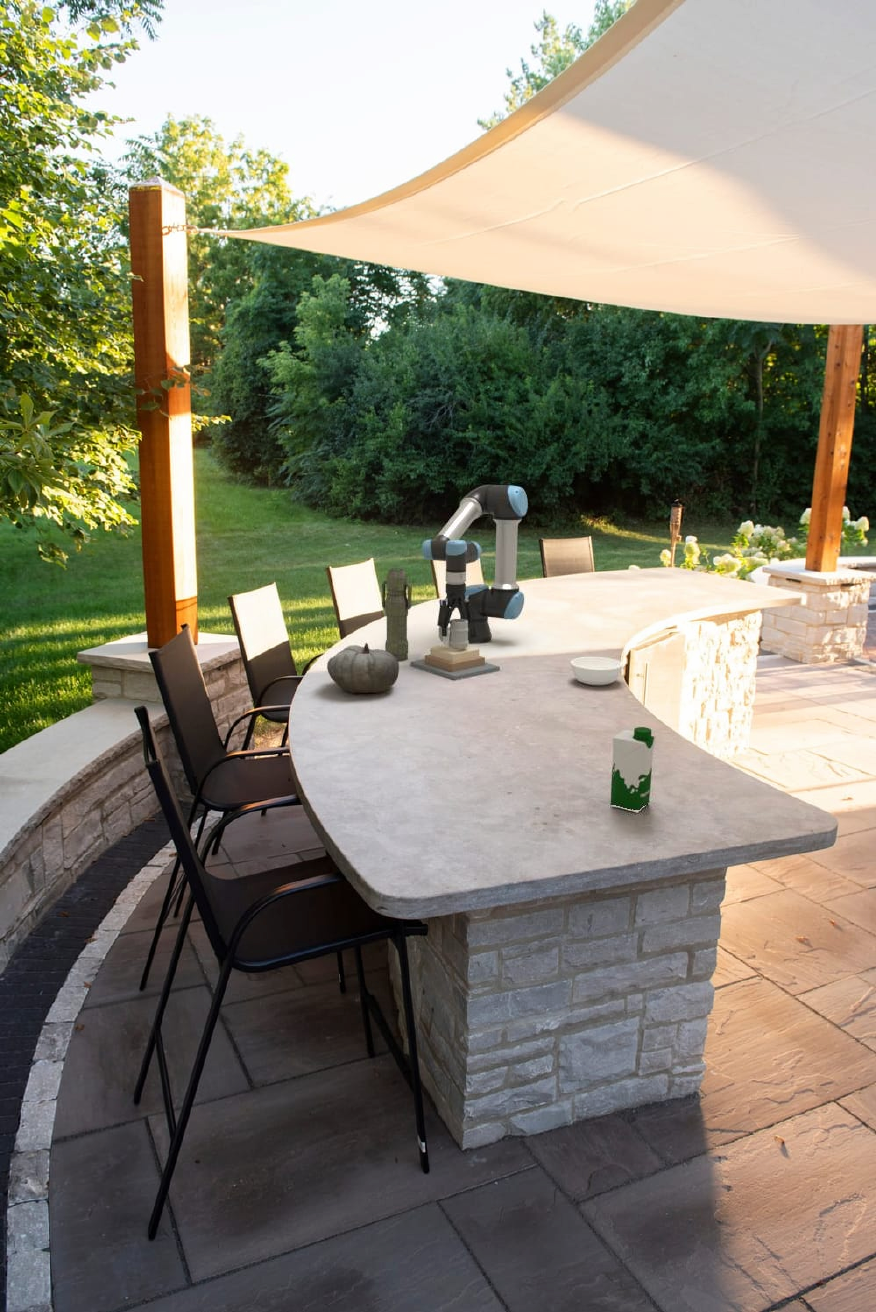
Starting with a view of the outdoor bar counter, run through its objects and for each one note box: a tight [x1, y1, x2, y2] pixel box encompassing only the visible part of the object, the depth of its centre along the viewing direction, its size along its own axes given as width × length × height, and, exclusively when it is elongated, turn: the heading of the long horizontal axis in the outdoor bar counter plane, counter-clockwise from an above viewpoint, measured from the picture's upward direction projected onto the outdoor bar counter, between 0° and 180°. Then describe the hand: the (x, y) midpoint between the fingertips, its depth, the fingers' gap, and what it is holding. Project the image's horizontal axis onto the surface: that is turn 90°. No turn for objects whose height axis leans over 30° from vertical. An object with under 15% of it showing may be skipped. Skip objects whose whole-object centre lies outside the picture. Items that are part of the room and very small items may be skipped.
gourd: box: [326, 642, 400, 694], centre depth 323 cm, size 25×25×17 cm
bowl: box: [570, 656, 623, 686], centre depth 335 cm, size 18×18×7 cm
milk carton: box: [610, 726, 656, 810], centre depth 227 cm, size 9×9×20 cm
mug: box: [438, 618, 470, 649], centre depth 349 cm, size 8×12×12 cm, turn 70°
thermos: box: [381, 568, 413, 663], centre depth 361 cm, size 9×12×35 cm
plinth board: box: [409, 644, 501, 681], centre depth 352 cm, size 26×22×8 cm
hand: (455, 642), depth 350 cm, fingers open, 8 cm apart
